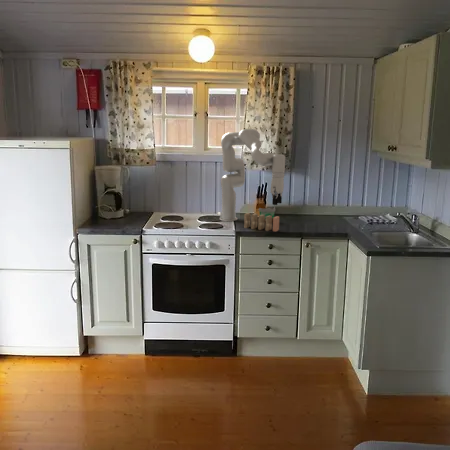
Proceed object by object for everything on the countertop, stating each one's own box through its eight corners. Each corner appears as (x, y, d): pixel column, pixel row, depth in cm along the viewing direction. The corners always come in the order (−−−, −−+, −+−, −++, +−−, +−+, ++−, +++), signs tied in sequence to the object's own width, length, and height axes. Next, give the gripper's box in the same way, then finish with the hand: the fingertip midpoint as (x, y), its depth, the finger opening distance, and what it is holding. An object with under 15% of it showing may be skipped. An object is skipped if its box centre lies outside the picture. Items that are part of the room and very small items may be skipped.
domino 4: (265, 230, 296) (265, 216, 294) (268, 229, 301) (269, 215, 299) (268, 231, 296) (268, 217, 294) (271, 229, 300) (272, 215, 298)
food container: (262, 224, 314) (262, 209, 312) (258, 222, 320) (258, 207, 318) (278, 223, 319) (279, 208, 317) (274, 221, 324) (274, 206, 322)
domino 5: (272, 231, 294) (273, 217, 292) (275, 230, 298) (276, 216, 296) (275, 232, 293) (276, 218, 291) (278, 230, 297) (279, 216, 295)
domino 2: (251, 228, 301) (251, 214, 299) (254, 227, 305) (254, 213, 303) (253, 229, 300) (254, 215, 298) (257, 227, 304) (257, 213, 302)
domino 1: (244, 227, 304) (244, 214, 301) (247, 226, 308) (247, 212, 306) (246, 228, 303) (247, 214, 301) (250, 226, 307) (250, 213, 305)
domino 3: (258, 229, 299) (258, 215, 297) (261, 228, 303) (261, 214, 301) (261, 230, 298) (261, 216, 296) (264, 228, 302) (264, 214, 300)
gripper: (277, 173, 297) (276, 201, 301) (266, 175, 282) (265, 205, 286) (289, 173, 293) (287, 202, 297) (278, 176, 279) (277, 206, 283)
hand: (276, 203), depth 292 cm, fingers open, 5 cm apart
